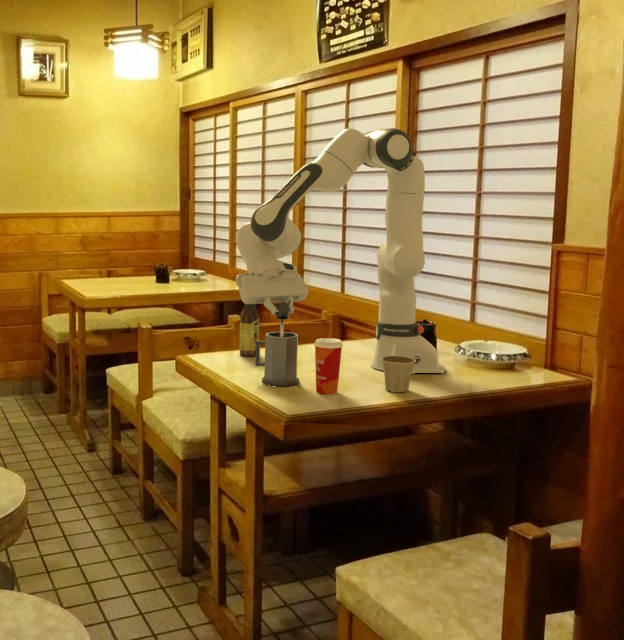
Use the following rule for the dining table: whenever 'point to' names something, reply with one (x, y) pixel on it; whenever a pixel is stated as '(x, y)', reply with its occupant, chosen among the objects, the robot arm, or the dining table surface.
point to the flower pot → (397, 372)
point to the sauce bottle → (249, 330)
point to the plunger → (282, 315)
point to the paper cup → (327, 364)
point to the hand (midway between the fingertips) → (283, 312)
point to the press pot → (279, 359)
